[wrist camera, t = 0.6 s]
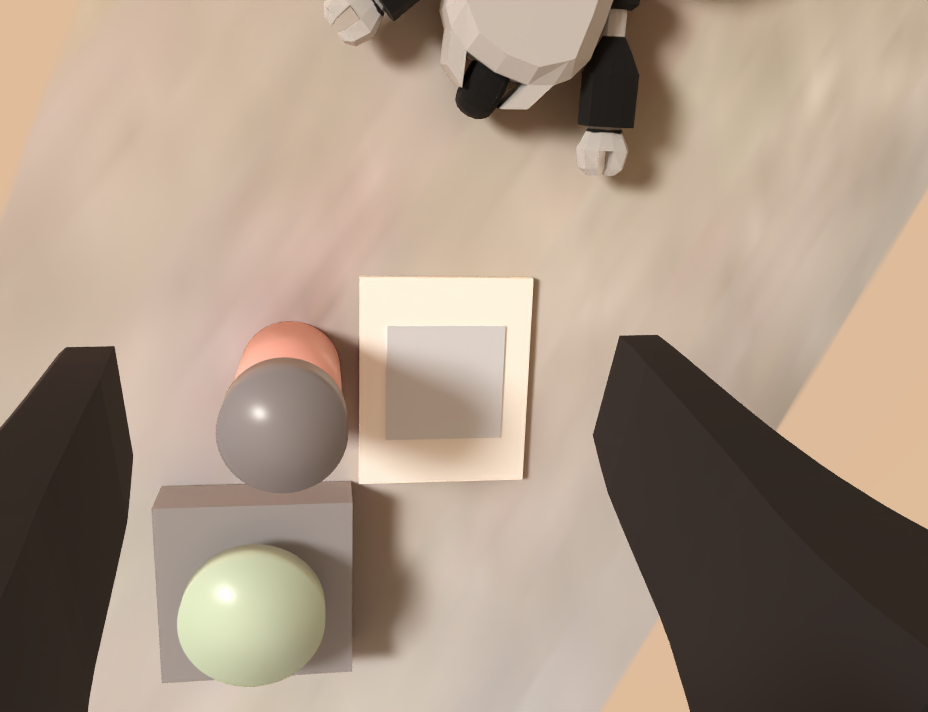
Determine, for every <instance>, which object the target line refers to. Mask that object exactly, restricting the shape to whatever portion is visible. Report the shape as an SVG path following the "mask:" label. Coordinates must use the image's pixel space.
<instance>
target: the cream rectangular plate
mask: <svg viewBox="0 0 928 712" xmlns="http://www.w3.org/2000/svg"><path fill="white" fill-rule="evenodd" d="M533 279H534V278H532V277H458V276H360V308H359V484H377V483H412V482H448V481H483V480H518V479H522V478H523V460H524V442H525V424H526V406H527V388H528V370H529V352H530V334H531V316H532V298H533Z"/></svg>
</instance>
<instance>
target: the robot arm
mask: <svg viewBox="0 0 928 712" xmlns="http://www.w3.org/2000/svg"><path fill="white" fill-rule="evenodd" d="M593 438H594V442H595V446H596V450H597V454H598V458H599V462H600V466H601V470H602V473H603V477H604V480H605V484H606V487H607V491H608V494H609V497H610V499H611V502H612V504H613V507H614V509H615V511H616V514H617V516H618V519H619V521H620V524H621V526H622V528H623V531H624V533H625V536H626V538H627V540H628V543H629V545H630V547H631V550H632V552H633V554H634V557H635V559H636V561H637V564H638V566H639V569H640V571H641V573H642V576H643V578H644V580H645V583H646V585H647V587H648V590H649V592H650V594H651V597H652V599H653V602H654V604H655V606H656V609H657V611H658V613H659V616H660V618H661V621H662V623H663V626H664V629H665V632H666V634H667V637H668V640H669V642H670V645H671V649H672V652H673V655H674V659H675V662H676V665H677V669H678V672H679V675H680V678H681V682H682V685H683V688H684V691H685V695H686V698H687V702H688V705H689V709H690V712H928V529H926V528H924V527H922V526H920V525H919V524H917V523H915V522H913V521H911V520H909V519H907V518H906V517H904V516H902V515H900V514H899V513H897V512H895V511H893V510H891V509H890V508H888V507H886V506H885V505H883V504H881V503H880V502H878V501H876V500H875V499H873V498H872V497H870V496H868V495H867V494H865V493H864V492H862V491H861V490H859V489H857V488H856V487H854V486H853V485H851V484H849V483H848V482H846V481H845V480H843V479H841V478H840V477H838V476H837V475H835V474H834V473H832V472H831V471H829V470H828V469H827V468H825V467H824V466H822V465H820V464H819V463H818V462H816V461H815V460H814V459H812V458H811V457H810V456H808V455H807V454H805V453H804V452H803V451H801V450H800V449H798V448H797V447H796V446H795V445H793V444H792V443H790V442H789V441H788V440H786V439H785V438H784V437H782V436H781V435H780V434H778V433H777V432H776V431H775V430H773V429H772V428H771V427H769V426H768V425H767V424H766V423H764V422H763V421H762V420H761V419H759V418H758V417H757V416H755V415H754V414H753V413H752V412H751V411H749V410H748V409H747V408H746V407H744V406H743V405H742V404H741V403H739V402H738V401H737V400H736V399H735V398H733V397H732V396H731V395H730V394H729V393H727V392H726V391H725V390H724V389H723V388H721V387H720V386H719V385H718V384H717V383H716V382H714V381H713V380H712V379H711V378H710V377H708V376H707V375H706V374H705V373H704V372H702V371H701V370H700V369H699V368H698V367H697V366H695V365H694V364H693V363H692V362H691V361H689V360H688V359H687V358H686V357H685V356H683V355H682V354H681V353H680V352H679V351H677V350H676V349H675V348H674V347H672V346H671V345H670V344H669V343H667V342H666V341H665V340H663V339H662V338H661V337H660V336H658V335H633V336H619V340H618V344H617V347H616V351H615V355H614V359H613V362H612V366H611V370H610V373H609V377H608V381H607V385H606V388H605V392H604V396H603V399H602V403H601V407H600V411H599V414H598V418H597V422H596V426H595V429H594V433H593ZM132 464H133V452H132V446H131V440H130V435H129V429H128V423H127V417H126V411H125V406H124V400H123V394H122V388H121V382H120V376H119V371H118V365H117V359H116V353H115V347H114V346H107V347H66V348H65V349H64V350H63V351H62V352H60V353H59V354H58V356H57V357H56V358H55V360H54V361H53V362H52V363H51V365H50V366H49V367H48V369H47V370H46V371H45V373H44V374H43V375H42V377H41V378H40V379H39V380H38V382H37V383H36V384H35V386H34V387H33V388H32V389H31V391H30V392H29V393H28V395H27V396H26V397H25V398H24V400H23V401H22V402H21V403H20V405H19V406H18V407H17V408H16V409H15V411H14V412H13V413H12V414H11V416H10V417H9V418H8V419H7V420H6V422H5V423H4V424H3V425H2V426H1V427H0V712H88V705H89V697H90V692H91V686H92V681H93V675H94V669H95V664H96V660H97V655H98V651H99V647H100V642H101V638H102V633H103V629H104V624H105V620H106V615H107V611H108V607H109V602H110V598H111V593H112V589H113V584H114V580H115V576H116V571H117V566H118V562H119V557H120V553H121V548H122V544H123V539H124V534H125V530H126V525H127V519H128V509H129V499H130V488H131V476H132Z"/></svg>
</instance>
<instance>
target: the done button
mask: <svg viewBox="0 0 928 712" xmlns="http://www.w3.org/2000/svg"><path fill="white" fill-rule="evenodd" d="M324 629H325V596H324V592H323V588H322V585H321V583H320V581H319V579H318V577H317V575H316V574H315V572H314V571H313V570H312V569H311V567H310V566H309V565H308V564H307V563H306V562H305V561H303V560H302V559H301V558H299V557H298V556H296V555H294V554H293V553H291V552H289V551H287V550H284V549H282V548H278V547H274V546H270V545H263V544H250V545H241V546H237V547H233V548H230V549H227V550H224V551H222V552H220V553H218V554H216V555H214V556H213V557H211V558H210V559H208V560H207V561H206V562H204V563H203V564H202V565H201V566H200V567H199V568H198V569H197V570H196V571H195V573H194V574H193V575H192V577H191V578H190V580H189V582H188V584H187V586H186V588H185V591H184V594H183V597H182V601H181V604H180V608H179V611H178V617H177V632H178V637H179V641H180V644H181V646H182V649H183V651H184V653H185V654H186V656H187V657H188V659H189V660H190V661H191V662H192V663H193V665H194V666H195V667H197V668H198V669H199V670H200V671H201V672H203V673H204V674H206V675H207V676H209V677H211V678H213V679H215V680H217V681H220V682H223V683H225V684H230V685H234V686H243V687H255V686H263V685H268V684H272V683H275V682H278V681H281V680H283V679H285V678H287V677H289V676H291V675H292V674H294V673H296V672H297V671H298V670H300V669H301V668H302V667H303V666H304V665H305V664H306V663H307V662H308V661H309V660H310V659H311V658H312V656H313V655H314V654H315V652H316V651H317V649H318V647H319V645H320V643H321V640H322V638H323V634H324Z"/></svg>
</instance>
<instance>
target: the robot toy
mask: <svg viewBox="0 0 928 712" xmlns="http://www.w3.org/2000/svg"><path fill="white" fill-rule="evenodd" d="M418 1H419V0H326V1H325V2H324V16H325V18H326V19H327V20H328V22H329V23H330V24H331V26H332V25H333V23H334V22H335V20H336V19H337V18H338V17H339V16H340V15H341V14H342V13H343V12H345V11H346V10H347V9H348V8H349V7H351V8H352V9H353V11H354V12H355V13H356V15H357V16H358V17H359V20H358V21H356V22H355V23H354V24H352V25H351V26H350V27H348V28H347V29H345V30H344V31H341V32H339V33H338V35H339V36H340V37H341V39H342V40H343V41H344V43H346V44H350V45H353V46H357V45H359V44H361V43H363V42H365V41H368V40H370V39H372V38H374V36H375V34H376V32H377V30H378V27H379V25H380V23H381V21H382V18H383V16H384V11H385V12H386V13H387V15H388V16H389V17H390V18H391V19H392V20H393V21H395V20H396V19H397V18H399V17H400V16H401V15H402V14H404V13H405V12H406V11H407V10H408V9H410V8H411V7H412V6H413V5H415V4H416V3H417V2H418ZM639 2H640V0H441V2H440V9H439V12H440V16H441V20H442V24H443V28H444V33H443V41H442V50H441V59H440V65H441V66H442V68H443V69H444V71H445V72H446V74H447V75H448V77H449V78H450V80H451V81H452V82H453V84H454V85H455V86H459V88H458V90H457V93H456V98H455V99H456V103H457V106H458V108H459V109H460V110H461V111H462V112H463V113H464V114H466V115H467V116H469V117H472V118H474V119H483V118H487V117H489V116H490V114H491V113H492V112H493V111H494V110H495V108H496V107H497V108H500V109H529V108H530V107H531V106H532V105H533V104H534V103H535V102H536V101H537V100H538V99H540V98H541V97H542V96H543V95H544V94H545V93H546V92H547V91H548V90H549V89H550V88H551V87H552V86H553V85H556V84H559V83H561V82H564V81H567V80H570V79H571V78H572V77H573V76H574V75H575V74H576V73H577V72H578V71H579V70H580V69H581V68H582V67H583V66H584V65H586V66H585V68H584V70H583V71H582V79H581V91H580V102H579V114H578V124H579V125H585V126H590V127H589V128H588V129H587V130H586V132H585V134H584V135H583V137H582V139H581V141H580V143H579V144H578V146H577V148H576V153H577V160H578V168H579V169H580V170H582V171H583V172H584V173H585V174H586V175H598V172H597V166H598V156H599V151H606V155H605V165H604V170H603V175H605V176H614V175H616V174H617V173H618V172H620V171H621V170H623V168H624V165H625V162H626V159H627V155H628V152H629V149H628V147H627V144H626V141H625V138H624V135H623V132H622V130H621V129H620V128H633V127H634V117H635V108H636V99H637V89H638V80H639V74H638V71H637V68H636V65H635V62H634V59H633V56H632V53H631V50H630V48H629V46H628V43H627V41H626V38H625V31H626V21H627V11H632V10H633V9H634V8H636V7H637V6H638V5H639ZM602 30H603V35H602V38H601V39H600V41H599V43H598V44H597V42H598V40H599V37H600V35H601V32H602ZM596 45H597V46H596ZM466 57H467V58H468V59H470V60H471V61H472V62H471V64H470V65H469V67H468V69H467V71H466V73H465V74H464V68H465V60H466ZM509 81H511V82H514V83H515V84H514V85H513V86H512V87H510V88H509V89H508V90H507V91H506V92H505V90H506V88H507V86H508V83H509ZM504 92H505V93H504Z"/></svg>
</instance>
